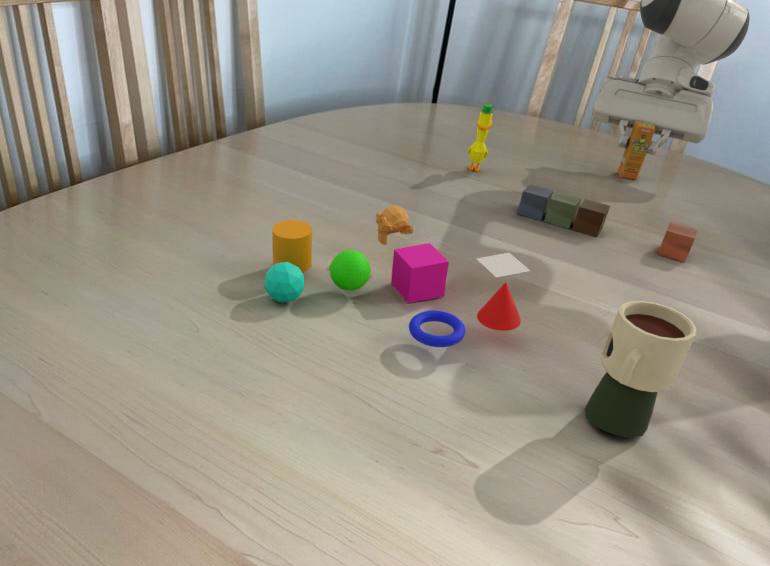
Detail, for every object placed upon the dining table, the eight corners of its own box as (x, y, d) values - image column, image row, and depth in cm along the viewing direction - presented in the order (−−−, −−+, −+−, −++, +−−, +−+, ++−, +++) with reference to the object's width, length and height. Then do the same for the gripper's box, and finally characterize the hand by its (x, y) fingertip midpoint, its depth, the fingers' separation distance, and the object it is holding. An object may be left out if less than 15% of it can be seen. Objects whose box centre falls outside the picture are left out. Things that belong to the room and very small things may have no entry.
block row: (523, 206, 124) (529, 183, 122) (688, 252, 114) (698, 229, 112) (516, 214, 121) (522, 191, 119) (684, 262, 112) (695, 238, 109)
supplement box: (619, 177, 139) (636, 125, 134) (616, 171, 142) (634, 119, 136) (637, 180, 139) (656, 128, 133) (635, 174, 142) (653, 122, 136)
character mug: (600, 386, 84) (640, 285, 76) (664, 415, 80) (712, 313, 73) (560, 431, 76) (599, 325, 69) (628, 466, 73) (677, 358, 65)
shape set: (238, 265, 103) (236, 217, 98) (463, 227, 112) (470, 182, 108) (312, 396, 80) (313, 341, 76) (585, 334, 90) (599, 283, 85)
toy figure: (467, 161, 140) (481, 96, 133) (486, 164, 139) (501, 100, 133) (462, 173, 135) (476, 106, 128) (481, 176, 134) (497, 110, 127)
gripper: (607, 63, 140) (580, 127, 138) (725, 86, 132) (697, 154, 130) (605, 82, 145) (578, 144, 144) (717, 106, 138) (691, 171, 136)
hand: (636, 149), depth 137 cm, fingers closed on supplement box, 4 cm apart
